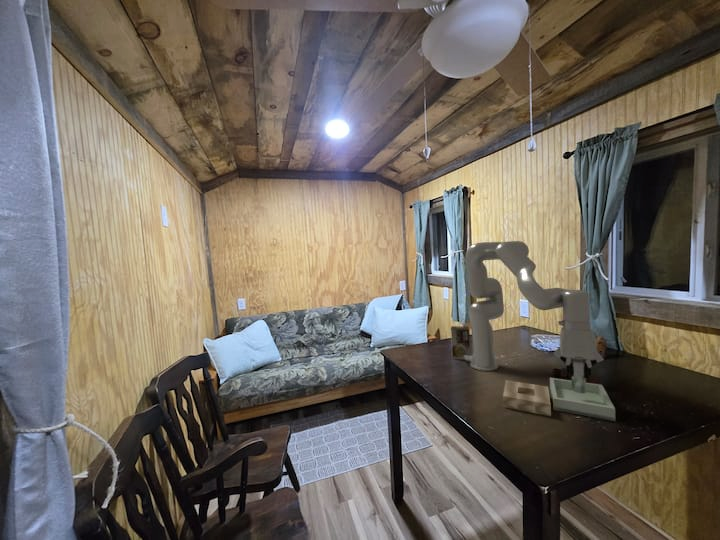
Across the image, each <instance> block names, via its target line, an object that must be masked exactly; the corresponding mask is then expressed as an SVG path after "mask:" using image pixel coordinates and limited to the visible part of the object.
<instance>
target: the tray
mask: <svg viewBox="0 0 720 540" xmlns="http://www.w3.org/2000/svg"><path fill="white" fill-rule="evenodd" d="M549 390H550V394H551V400H552V408H553V410H554V411H559V412H563V413H568V414H569V413H570V414H575V415H580V416H586V417H590V418H591V417H592V418H594V419H600V420H607V421H613V422H616V407H615V406H614V404H613V402H612V401H611V399H610V397H609V395H608V393H607V391H606V389H605V387H604V386H603V384H601V383H599V384H593V383H586V393H577V392H574V391H573V390H572V379H569V380H564V379H562V378H555V377H549Z"/></svg>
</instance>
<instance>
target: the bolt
mask: <svg viewBox="0 0 720 540" xmlns="http://www.w3.org/2000/svg"><path fill="white" fill-rule="evenodd" d="M551 374H552V375H553V376H555V377H560V379H564V380H572V377H570V376H569V373H567V371H566V367H563V368H562V369H560V368H557V367H556V368H552V371H551ZM586 383H593V384H600V377H599V374H598V373H596V372H591V376H589V379H587V378H586Z"/></svg>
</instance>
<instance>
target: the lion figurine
mask: <svg viewBox="0 0 720 540" xmlns="http://www.w3.org/2000/svg"><path fill="white" fill-rule="evenodd" d="M596 347H597V351H598V352H601V356H602V357H603V358H606V355H605V352H606V349H607V340H606V339H605V338H604V336H603V337H602V336H598V337H597V338H596Z"/></svg>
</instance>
